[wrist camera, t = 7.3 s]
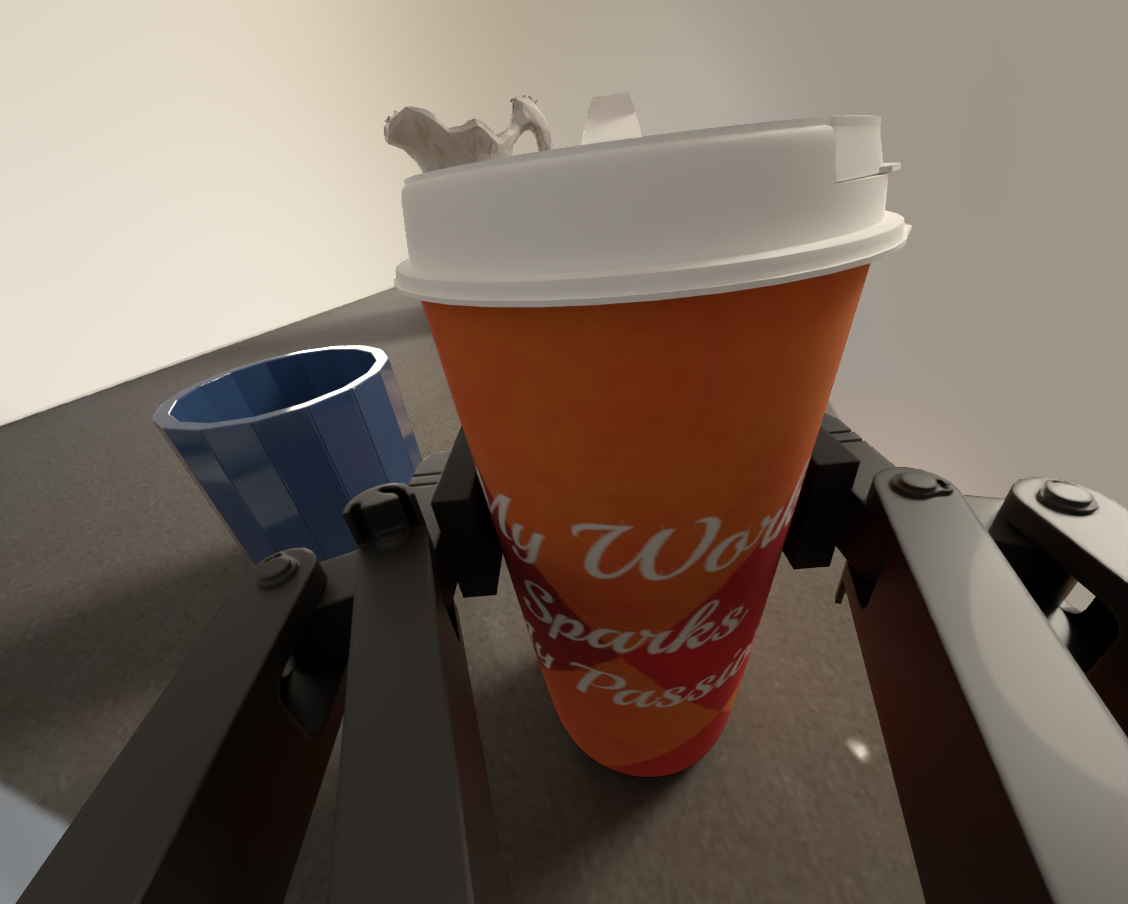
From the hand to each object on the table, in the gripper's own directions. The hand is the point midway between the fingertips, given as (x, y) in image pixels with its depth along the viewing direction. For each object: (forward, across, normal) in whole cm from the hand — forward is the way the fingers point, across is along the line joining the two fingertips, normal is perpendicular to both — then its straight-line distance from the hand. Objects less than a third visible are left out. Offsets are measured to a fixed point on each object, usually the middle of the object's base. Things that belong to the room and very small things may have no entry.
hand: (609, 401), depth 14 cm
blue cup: (+3, -12, -8) cm, 15 cm away
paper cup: (-5, 0, -8) cm, 9 cm away
